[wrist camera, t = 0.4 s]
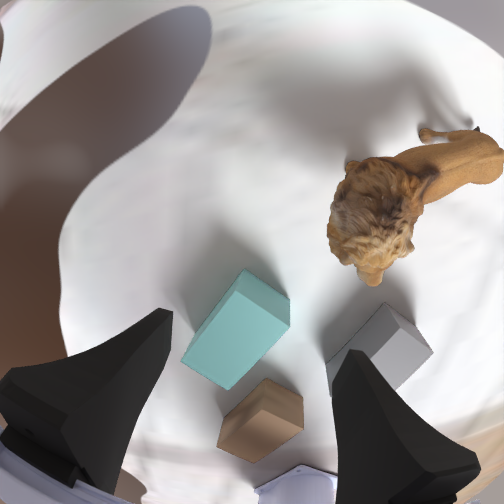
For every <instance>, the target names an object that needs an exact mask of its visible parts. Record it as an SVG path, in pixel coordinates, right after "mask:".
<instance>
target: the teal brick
mask: <svg viewBox="0 0 504 504" xmlns="http://www.w3.org/2000/svg"><path fill="white" fill-rule="evenodd" d="M289 328H290V300H289V299H288V298H286V297H285V296H283V295H282V294H281V293H279V292H278V291H276V290H275V289H273V288H272V287H271V286H269V285H268V284H266V283H265V282H263V281H262V280H260V279H259V278H258V277H256V276H255V275H253V274H252V273H250V272H249V271H248V270H246V269H245V268H244V269H243V271H242V272H241V273H240V275H239V276H238V277H237V279H236V280H235V281H234V283H233V284H232V285H231V287H230V288H229V289H228V291H227V292H226V293H225V295H224V296H223V297H222V299H221V300H220V301H219V303H218V304H217V305H216V307H215V308H214V309H213V311H212V312H211V313H210V315H209V316H208V317H207V319H206V320H205V321H204V323H203V324H202V325H201V327H200V328H199V329H198V330H197V332H196V333H195V335H194V337H193V339H192V341H191V342H190V344H189V346H188V348H187V350H186V352H185V354H184V356H183V358H182V360H181V362H182V363H184V364H185V365H187V366H188V367H190V368H191V369H193V370H195V371H196V372H198V373H199V374H201V375H203V376H204V377H206V378H207V379H209V380H211V381H212V382H214V383H216V384H217V385H219V386H221V387H222V388H224V389H226V390H229V389H231V388H232V387H233V386H234V385H235V384H236V383H237V382H238V381H239V380H240V379H241V378H242V377H243V376H244V375H245V374H246V373H247V372H248V371H249V370H250V369H251V368H252V367H253V366H254V365H255V363H256V362H257V361H258V360H259V359H260V358H261V357H262V356H263V355H264V354H265V353H266V352H267V351H268V350H269V349H270V348H271V347H272V346H273V345H274V344H275V343H276V342H277V340H278V339H279V338H280V337H281V336H282V335H283V334H284V333H285V332H286V331H287V330H288V329H289Z"/></svg>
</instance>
